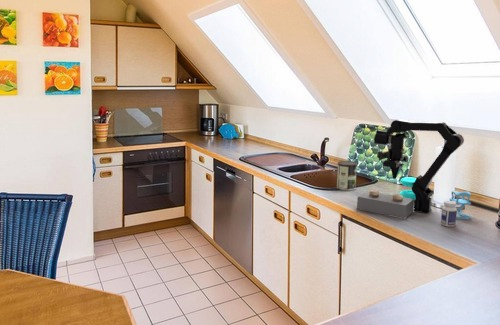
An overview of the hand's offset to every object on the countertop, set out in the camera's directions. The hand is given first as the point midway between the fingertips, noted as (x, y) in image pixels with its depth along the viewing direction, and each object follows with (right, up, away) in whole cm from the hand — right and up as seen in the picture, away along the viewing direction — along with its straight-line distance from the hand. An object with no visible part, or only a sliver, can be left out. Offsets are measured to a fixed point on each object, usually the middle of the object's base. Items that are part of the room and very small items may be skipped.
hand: (394, 178), depth 205 cm
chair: (+24, -16, -13) cm, 32 cm away
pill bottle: (+15, -19, -24) cm, 34 cm away
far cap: (-11, -12, -2) cm, 17 cm away
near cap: (-2, -14, -9) cm, 16 cm away
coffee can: (-16, -6, +33) cm, 37 cm away
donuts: (+13, -11, +14) cm, 22 cm away
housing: (-6, -14, -5) cm, 17 cm away
